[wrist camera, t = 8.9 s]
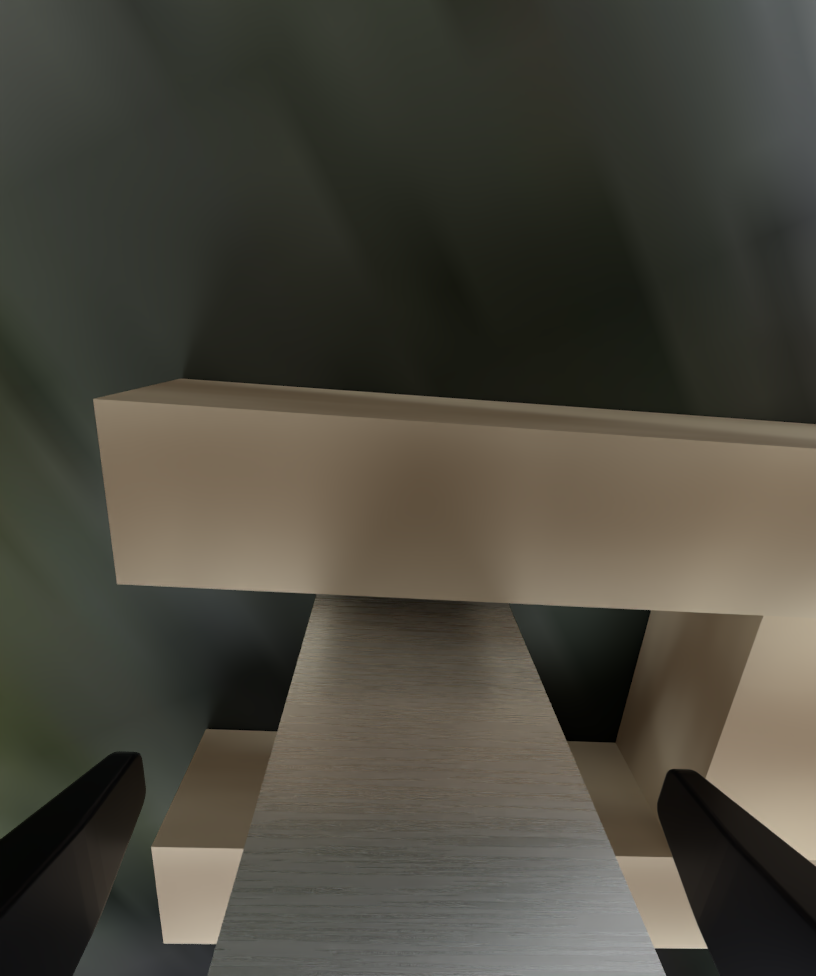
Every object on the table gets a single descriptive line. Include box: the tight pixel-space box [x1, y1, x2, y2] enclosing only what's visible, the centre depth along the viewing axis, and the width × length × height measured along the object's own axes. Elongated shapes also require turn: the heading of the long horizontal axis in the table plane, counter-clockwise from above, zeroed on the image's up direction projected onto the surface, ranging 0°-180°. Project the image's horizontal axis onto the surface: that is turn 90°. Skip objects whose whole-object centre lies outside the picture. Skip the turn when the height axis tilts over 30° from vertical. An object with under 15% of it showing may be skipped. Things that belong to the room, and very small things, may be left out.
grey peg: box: [207, 594, 666, 976], centre depth 8 cm, size 4×4×8 cm
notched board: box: [93, 379, 816, 949], centre depth 11 cm, size 12×16×3 cm
